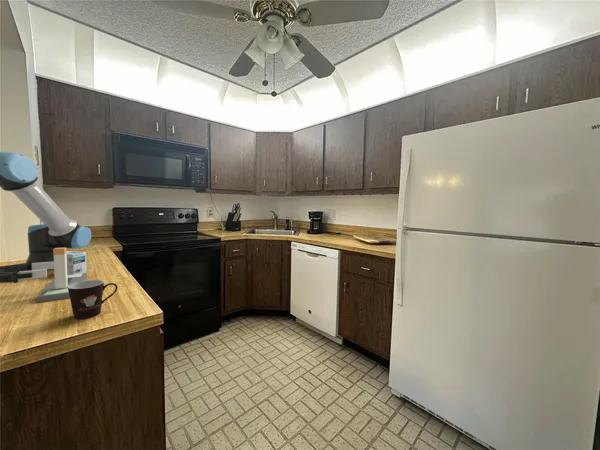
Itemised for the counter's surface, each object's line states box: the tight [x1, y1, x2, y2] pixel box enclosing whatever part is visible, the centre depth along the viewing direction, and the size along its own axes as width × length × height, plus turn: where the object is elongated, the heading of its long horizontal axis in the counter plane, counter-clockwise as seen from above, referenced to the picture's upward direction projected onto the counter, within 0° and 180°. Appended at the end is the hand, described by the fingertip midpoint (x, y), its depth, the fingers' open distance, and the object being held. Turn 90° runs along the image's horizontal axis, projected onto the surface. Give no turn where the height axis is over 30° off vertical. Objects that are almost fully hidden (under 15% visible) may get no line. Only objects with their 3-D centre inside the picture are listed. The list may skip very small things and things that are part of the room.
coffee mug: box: [68, 279, 118, 320], centre depth 77 cm, size 12×9×10 cm
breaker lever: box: [53, 247, 68, 289], centre depth 92 cm, size 3×3×15 cm
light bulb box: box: [66, 250, 88, 275], centre depth 117 cm, size 11×7×11 cm, turn 84°
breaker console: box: [36, 272, 88, 303], centre depth 99 cm, size 28×10×2 cm, turn 35°
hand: (51, 268), depth 91 cm, fingers open, 13 cm apart
